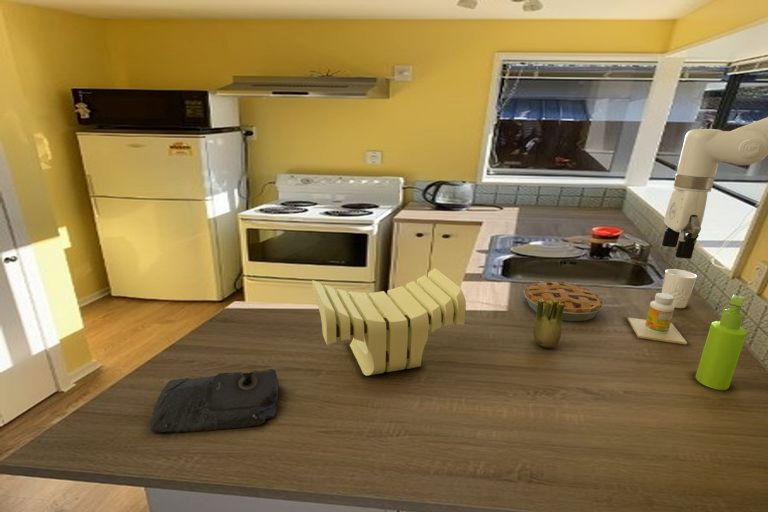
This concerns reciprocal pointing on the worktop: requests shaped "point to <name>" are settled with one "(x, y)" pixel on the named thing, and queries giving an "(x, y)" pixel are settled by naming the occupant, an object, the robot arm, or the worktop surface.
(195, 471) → the worktop surface
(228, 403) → the dark slate chunk
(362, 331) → the slatted curved stool
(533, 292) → the pie
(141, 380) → the worktop surface
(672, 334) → the coaster
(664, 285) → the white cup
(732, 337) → the soap dispenser
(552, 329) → the fennel bulb
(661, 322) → the supplement bottle
